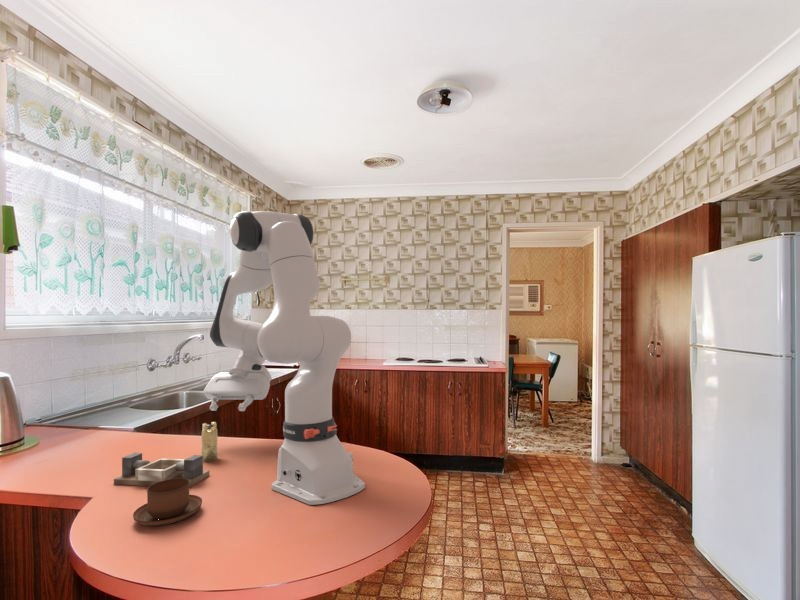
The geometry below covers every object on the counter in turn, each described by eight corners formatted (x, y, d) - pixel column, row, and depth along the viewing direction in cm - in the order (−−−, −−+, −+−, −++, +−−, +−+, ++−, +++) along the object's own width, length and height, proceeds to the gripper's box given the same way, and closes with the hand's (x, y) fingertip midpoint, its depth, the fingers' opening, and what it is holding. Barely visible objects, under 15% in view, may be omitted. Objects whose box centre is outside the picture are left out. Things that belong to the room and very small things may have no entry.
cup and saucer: (124, 519, 83) (124, 487, 83) (188, 498, 92) (188, 470, 92) (144, 539, 75) (144, 503, 75) (212, 514, 84) (212, 483, 84)
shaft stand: (209, 475, 105) (209, 452, 105) (187, 488, 97) (187, 463, 97) (140, 472, 109) (140, 450, 109) (113, 484, 101) (113, 460, 101)
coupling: (219, 459, 117) (219, 423, 118) (204, 463, 115) (203, 425, 115) (215, 456, 120) (214, 420, 121) (200, 459, 118) (199, 423, 118)
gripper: (211, 366, 136) (190, 403, 126) (269, 366, 132) (253, 404, 122) (219, 378, 140) (200, 415, 130) (276, 378, 136) (261, 416, 126)
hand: (226, 409), depth 126 cm, fingers open, 8 cm apart
